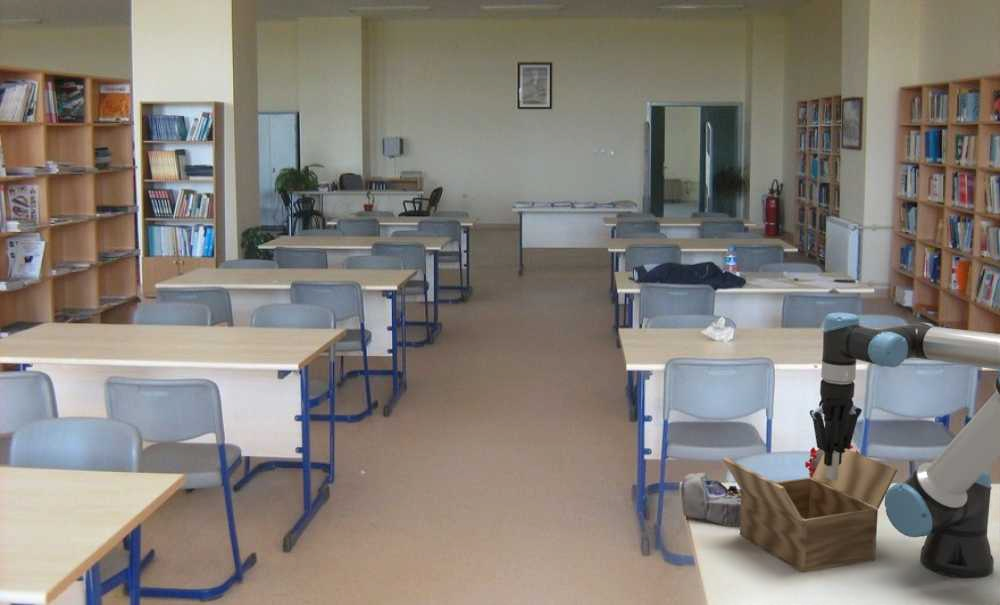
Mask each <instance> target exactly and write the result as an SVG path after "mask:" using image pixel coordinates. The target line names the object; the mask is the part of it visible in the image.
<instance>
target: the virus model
mask: <svg viewBox="0 0 1000 605" xmlns="http://www.w3.org/2000/svg"><path fill="white" fill-rule="evenodd" d="M846 449H847V448H846ZM848 449H849V450H851V449H854V446H853V445H852V443H851V444H850V448H848ZM855 452H856V453H858V454H860V452H859V451H858V449H856V450H855ZM823 454H824V451H823V450H821V449H819V448H817V450H816V447H815V446H813V447H811V449H810V455H809V457H810V458H809V460H808V461H805V462H804V466H805V468H806V469H808V472H809V473H808V475H809V477H808V478H810V477H811V478H812V476H813V474H814V472H815V470H816V468H817V466H818V464H819V462H820V460H821V458H822V456H823ZM813 479H814V478H813ZM815 480H816V479H815ZM817 481H818V480H817ZM826 485H827V484H826ZM828 486H829V485H828ZM830 487H831V486H830ZM832 488H833V487H832ZM834 489H835V488H834ZM836 490H837V489H836Z"/></svg>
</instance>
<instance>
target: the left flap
mask: <svg viewBox="0 0 1000 605" xmlns="http://www.w3.org/2000/svg"><path fill="white" fill-rule="evenodd" d="M721 459H722V460H723V463H724V464H725V465H726V467H727V469H728V470H729V472H730V474H731V475H732V477H733V479H734V480H735V482H736V484H737V486H738V487H739V489H742V490H743V491H745V492H747V493H749V494H751V495H753V496H755V497H756V498H758V499H760V500H762V501H764V502H766V503H768V504H769V505H771V506H773V507H775V508H777V509H779V510H780V511H782V512H784V513H786V514H788V515H790V516H792V517H793V518H795V519H797V520H799V521H802V520H803V519H802V517H801V515H800V514H799V512H798V510H797V509H796V507H795V505H794V504H793V502H792V500H791V498H790V497H789V495H788V493H787V492H786V490H785V488H784V487H783V486H781V485H779V484H777V483H775V481H773V480H771V479H769V478H767V477H766V476H762V475H761V474H759V473H756V472H755V471H753V470H751V469H749V468H747V467H745V466H743V465H740V464H739V463H737V462H735V461H733V460H732V459H729V458H728V457H725V456H723V457H722V458H721Z"/></svg>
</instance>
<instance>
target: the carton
mask: <svg viewBox="0 0 1000 605" xmlns="http://www.w3.org/2000/svg"><path fill="white" fill-rule="evenodd" d="M809 477H810V476H809ZM809 477H805V478H804V477H803V478H798V479H797V478H796V479H791V480H783V481H776V482H775V481H774V482H775V483H777V484H779V485H781V486H783V487H784V488H785V490H786V492H787V493H788V495H789V497H790V498H791V500H792V502H793V504H794V505H795V507H796V509H797V510H798V512H799V514H800V515H801V517H802V519H803V520H802V521H799V520H797V519H795V518H793V517H792V516H790V515H788V514H786V513H784V512H782V511H780V510H779V509H777V508H775V507H773V506H771V505H769V504H768V503H766V502H764V501H762V500H760V499H758V498H756V497H755V496H753V495H751V494H749V493H747V492H745V491H743V490H742V489H741V514H740V526H739V536H740V535H741V536H740V537H741V538H743V539H744V540H746V541H748V540H749V541H748V542H750V543H751V544H754V546H755V545H756V546H757V547H758V548H760V549H762V550H763V551H765V552H766V553H768V554H770V555H771V556H774V557H775V558H776V559H778V560H779V561H782V562H783V563H784V564H786V565H788V566H790V567H792V568H793V569H794V570H796V571H798V572H799V573H801V574H803V573H809V572H815V571H821V570H827V569H831V568H837V567H842V566H848V565H854V564H859V563H863V562H870V561H875V560H876V546H877V533H878V532H877V529H878V517H879V516H878V515H879V514H878V513H879V509H877V508H875V507H873V506H871V505H869V504H867V503H865V502H863V501H860V500H858V499H856V498H854V497H852V496H850V495H848V494H846V493H843V492H841V491H839V490H836V489H834V488H832V487H830V486H828V485H826V484H824V483H822V482H820V481H817V480H815V479H813V478H811V477H810V478H809Z"/></svg>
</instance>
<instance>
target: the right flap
mask: <svg viewBox="0 0 1000 605" xmlns="http://www.w3.org/2000/svg"><path fill="white" fill-rule="evenodd" d="M844 450H845V452H844V453H842V457H841V464H840V465H839V468H838V480H831V479H829V478H827V477H825V473H826V465H825V464H824V454H823V456H822V458H821V460H820V462H819V464H818V466H817V468H816V470H815V472H814V474H813V476H812V478H814V479H816V480H818V481H820V482H822V483H824V484H827V485H829V486H831V487H833V488H835V489H837V490H839V491H841V492H843V493H845V494H847V495H849V496H851V497H853V498H855V499H858V500H860V501H862V502H864V503H866V504H868V505H870V506H872V507H874V508H877V509H878V510H879V509H880V507H881V505H882V502H883V501H884V500H885V496H886V493H887V491H888V490H889V489H890V488H891V487H890V486H891V485H892V482H893V481H894V478H895V476H896V474H897V472H898V469H897V468H895V467H892V466H890V465H887V464H885V463H883V462H880V461H877V460H875V459H873V458H870V457H868V456H866V455H863V454H861V453H859V454H858V453H856V451H853V450H851V449H850V450H849V449H844Z"/></svg>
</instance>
